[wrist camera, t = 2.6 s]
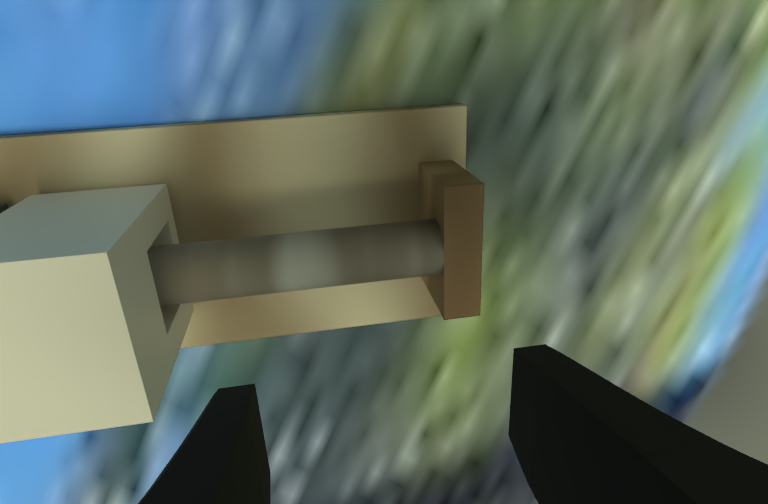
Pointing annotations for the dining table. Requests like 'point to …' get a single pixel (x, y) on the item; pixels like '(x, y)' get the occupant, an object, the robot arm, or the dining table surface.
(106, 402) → the pale sage cube
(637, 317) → the dining table surface
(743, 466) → the robot arm
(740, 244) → the dining table surface
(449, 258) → the pipe stand
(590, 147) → the dining table surface
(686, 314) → the dining table surface
